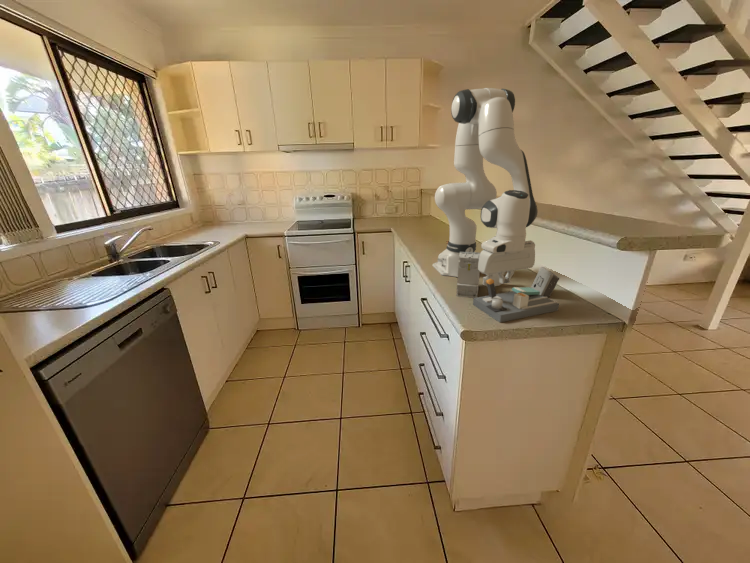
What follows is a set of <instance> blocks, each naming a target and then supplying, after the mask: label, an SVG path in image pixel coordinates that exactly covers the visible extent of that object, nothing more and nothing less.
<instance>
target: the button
mask: <svg viewBox="0 0 750 563" xmlns="http://www.w3.org/2000/svg"><path fill="white" fill-rule="evenodd" d="M502 304H503V300H501V299H497V298H495V299H492V305H491V307H492V308H493V309H502Z"/></svg>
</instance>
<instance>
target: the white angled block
mask: <svg viewBox="0 0 750 563" xmlns="http://www.w3.org/2000/svg"><path fill="white" fill-rule="evenodd" d="M488 279H492V280H494V287H497V286H501V283H500V282H499V280H500V278H499V275H498V273H493V274H487V275H485V276H483V277H482V285H484V286H485V287H487V283H486V280H488Z"/></svg>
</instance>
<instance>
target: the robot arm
mask: <svg viewBox="0 0 750 563" xmlns="http://www.w3.org/2000/svg"><path fill="white" fill-rule="evenodd" d="M515 105H516V97H515V94H514V92H513V91H512V90H510V89H506V88H501V89H500V88H494V87H484V88H474V89H473V88H471V89H468V88H467V89H462V90H459V91H458V92H456V93H455V95H454V97H453V98H452V102H451V109H450V112H451V118H452V119H453V121H454V122H455V123H458V125H457V129H456V133H455V134H456V136H455V141H454V155H453V156H454V157H453V158H454V159H453V166H454V168H455V170H456V171H458V172H460V174H462V175H464V176H465V182H450V183H446V184H442V185H440V186H438V188H437V189H436V190H435V193H434V203H435V205H436V206H437V208H438V209H439V210H441V211H442V212H443V213H444V215H446V218H447V220H448V224H449V225H448V226H449V227H448V228H449V240H447V241H446V244H447V245H446V248H445V249H444V250H443V251H441V252H440V253H439V254H438V256H437V261H436V262H434V263H432V267H433V268H434V269H435V270H436V271H437V272H438V273H439V274H440V275H441V276H448V277H449V276H450V277H455V278H456V277H457V278H458V264H459V254H460V252H476V251H477V241H476V240H477V238H476V237H477V224H476V222H475V221H474V220H472V219H471V218H469V217H467V216H466V211H467V210H480V222H481V223H482V224H483V225H484V226H485V227H486V228H489V229H496V233H495V236H493V237H491V238H489V239H487V240H485V241H482V243H481V244H480V245H481V249H482V250H481V251H480V252H479V253H480V256H479V262H478V270H479V271H480V273H481V274H483V275H485V276H487V274H493V273H498V275H499V278H500V280H499V282H500V285H502V284H508V283H511V278H512V277H513V275H514V274H515V271H519V270H525V269H531V268H533V267H534V266H535V262H536V261H535V260H536V249H535V248H536V243H535V242H534V241H533V240H526V238H527V228H528V227H530V226H531V225H532V224H533V223H534V221H535V220H536V219H537V217H538V210H539V209H538V205H537V202H536V200H535V198H534V194H533V188H532V183H531V177H530V172H529V167H528V160H527V158H526V154H525V152H524V151H523V150H522V149H521V148H520V147H519V145H518V142H517V140H516V135H515V123H514V122H515V121H514V114H513V113H514V110H515V107H516V106H515ZM484 160H485V161H486V162H489V163H490V164H493V165H496V166H497V167H500V168H503V169H504V170H505V171H507V172H508V173H509V175H510V177H511V182H512V186H513V187H512V188H513V189H509V190H506V191H504V192H502V193H501V195H500V196H499V197H497V196H498V194H497V188H496V186H495V185H494V184H493V183H492V182H491V181H490V180H489V179H488V177H487V176H486V173H485V170H484V168H485V167H484Z"/></svg>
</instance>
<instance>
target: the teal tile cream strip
mask: <svg viewBox="0 0 750 563" xmlns="http://www.w3.org/2000/svg"><path fill="white" fill-rule="evenodd" d="M512 291H514V292H516V293H524V294H526V295H539V294H540V292H539V291H537V290H535V289H533V288H531V286H529V287H528V286H527V287H526V286H525V287H517V286H516V287H515V286H514V287H512V288H511V292H512Z"/></svg>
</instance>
